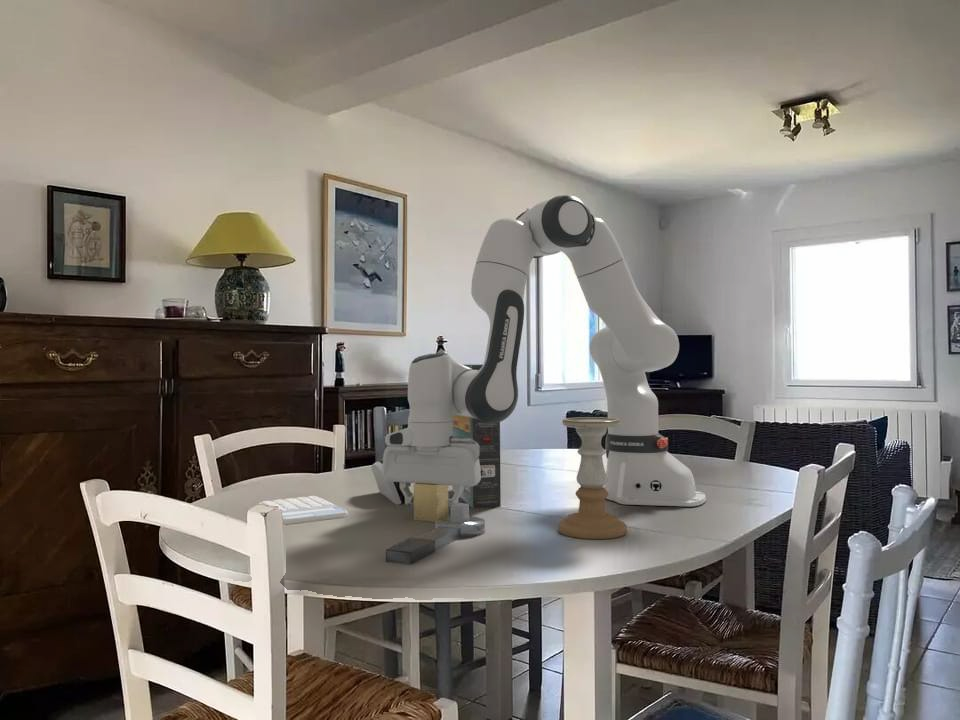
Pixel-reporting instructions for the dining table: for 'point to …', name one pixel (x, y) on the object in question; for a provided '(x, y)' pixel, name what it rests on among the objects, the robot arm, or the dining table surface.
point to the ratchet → (437, 536)
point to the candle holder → (592, 484)
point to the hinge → (387, 485)
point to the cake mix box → (482, 457)
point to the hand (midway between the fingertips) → (431, 506)
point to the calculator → (306, 509)
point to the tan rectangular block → (430, 502)
